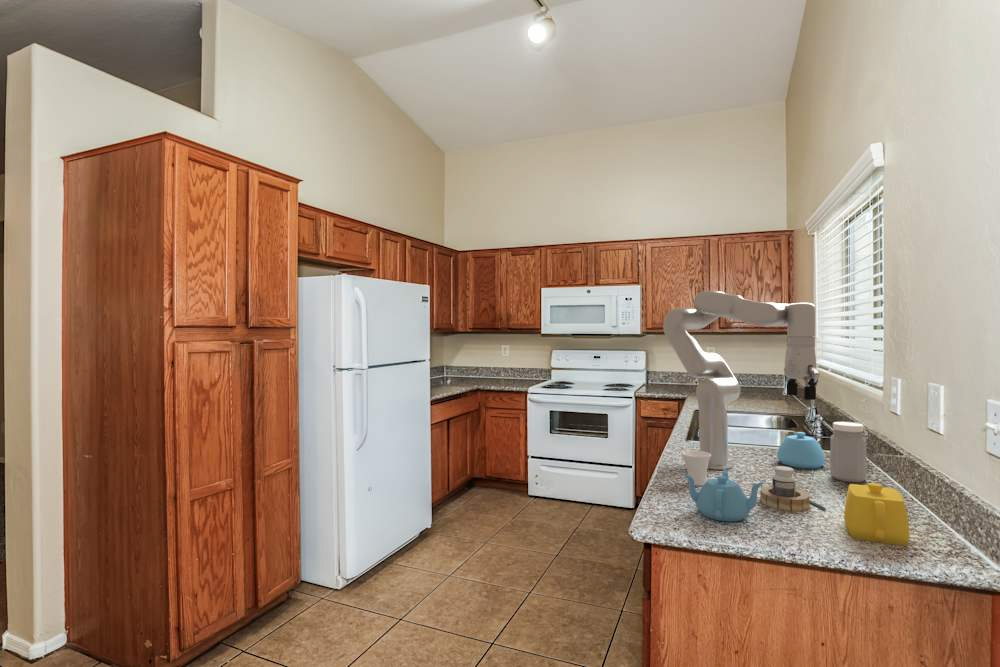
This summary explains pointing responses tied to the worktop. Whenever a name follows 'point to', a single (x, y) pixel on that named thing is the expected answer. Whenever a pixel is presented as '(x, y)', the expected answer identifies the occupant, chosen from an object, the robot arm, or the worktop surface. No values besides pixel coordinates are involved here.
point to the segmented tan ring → (784, 500)
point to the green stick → (817, 505)
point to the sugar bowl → (801, 452)
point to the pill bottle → (784, 482)
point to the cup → (697, 465)
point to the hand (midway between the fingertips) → (800, 397)
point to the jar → (848, 452)
